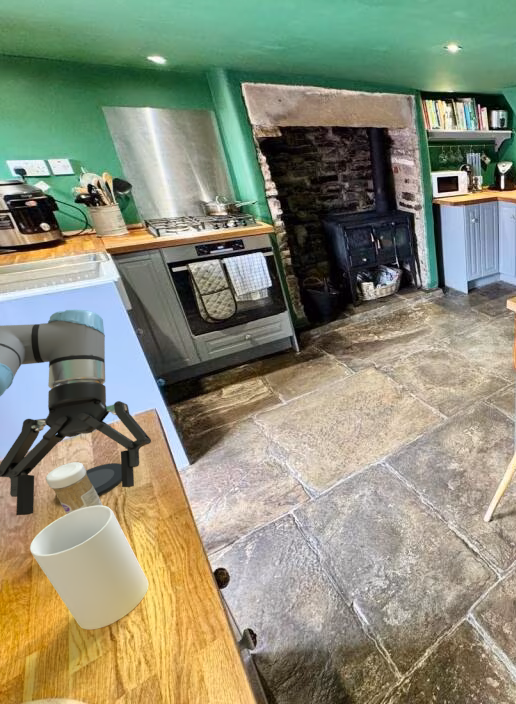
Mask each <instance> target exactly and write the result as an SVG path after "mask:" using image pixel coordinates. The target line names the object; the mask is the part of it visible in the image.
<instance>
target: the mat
mask: <svg viewBox="0 0 516 704" xmlns="http://www.w3.org/2000/svg"><path fill="white" fill-rule="evenodd" d="M86 473H87V476H88V478H89V480H90V482H91V484H92V485H93V487H94V489H95V491H96V493H97V494H98V496H99V497H100V496H102V495H105V494H107V493H108V492H110V491H111V490H113V489H114V488H116V487H117V486H118V485H120V484H122V473H121V463H118V462H117V463H116V462H113V463H104V464H101V465H97V466H93V467H91V468H88V469H86Z"/></svg>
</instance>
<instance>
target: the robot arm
mask: <svg viewBox="0 0 516 704" xmlns="http://www.w3.org/2000/svg"><path fill="white" fill-rule="evenodd" d="M105 338H106V335H105V328H104V320H103V317H102V316H101V315H100V314H98V313H96V312H94V311H91V310H85V309H66V310H65V311H64V310H59V311H56V312H54V313H53V314H51V315H50V316H49V320H48V321H47V322H46V323H45V322H44V323H36V324H34V323H33V324H10V325H9V324H8V325H7V324H5V325H0V397H2V396H3V395H4V394H5V392H6V391H7V390H8V389H9V388H10V387H11V386H12V384H13V381H14V378H15V377H16V374H17V373H18V370H19V369H20V367H21V365H32V364H43V363H48V384H47V385H48V388H49V389H50V390H48V395H47V396H48V399H47V400H48V401H47V403H48V405H47V408H48V415H47V416H46V418H39V419H33V418H26V419H24V420H23V422H22V425H21V426H22V427H21V432H20V433H19V435H18V436H17V438H16V439H15V441H13V444H12V445H11V447H10V449H9V450H8V452H7V453H6V454H5V456H4V457H3V459H2V461H1V462H0V478H9V479H10V488H9V494H10V496H11V497H12V498H16V510H15V511H16V513H15V514H16V516H28V515H31V514H34V507H35V506H34V503H35V502H34V501H35V475H33V474H30V473H31V472H32V471H33V470H34V469H35V468H36V466H38V465H39V463H40V462H41V461H42V460H43V459H44V458H45V457H46V456H47V455H48V454H49V453H50V452H51V451H52V450H53V449H54V448H55V447H56V446H57V444H59V443H60V442H62V441H63V440H64V439H66V438H74V437H77V436H80V435H83V434H86V435H87V434H91V433H93V432H95V430H97V431H98V432H100V433H101V434H103V435H105V436H106V437H108V438H109V439H111V440H112V441H114V442H115V443H117V444H119V445H120V446H122V447H123V448H125V449H126V450H123V451H120V464H121V473H122V482H121V488H132V487H135V479H134V478H135V477H134V468H136V467H139V465H140V449H141V448H142V447H144V446H146V445H149V444H151V442H152V439H151V438H150V436H149V435H148V434H147V433H146V432H145V430H144V429H143V428H142V426H141V425H140V424H139V423H138V422H137V420H136V419H135V418H134V417H133V416H132V414H131V413H130V410H129V406H128V404H127V403H126V402H123V401H121V400H118V401H115V402H114V403H113V404H110V405H107V404H106V403H107V389H106V385H105V383H106V361H105V360H106V356H105V355H106V352H105V351H106V349H105V348H106V347H105V346H106V345H105V344H106V343H105V342H106V341H105ZM110 413H111V414H112V415H114V416H117V418H118V420H119V421H120V422H121V423H122V424H123V425H124V427H125V428H126V429H127V430H128V431H129V433H130V434H131V435H132V436H133V437H134V439H135V440H132V439H130V438H129V437H128V436H126V435H125V434H123V433H121V432H119V431H118V430H116V429H115V428H113V427H112V426H111V425H109V424H108V423H107V422H105V421H104V420H105V419H106V417H107V416H108V415H109V414H110ZM46 426H47V427H49V429H48V430H47V431H45V433H44V434H43V435H42V438H41V440H39V441H38V443H36V445H35V446H34V447H32V446H33V444H34V443H35V441H36V440H37V439H38V436H39V434H40V432H42V431H43V430H44V428H45V427H46ZM31 447H32V449H31Z"/></svg>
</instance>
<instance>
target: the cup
mask: <svg viewBox="0 0 516 704" xmlns="http://www.w3.org/2000/svg"><path fill="white" fill-rule="evenodd" d="M29 550H30V553H31V555H32V557H33V558H34V560H35V561H36V563H37V564H38V565H39V568H40V569H41V570H42V572H43V573H44V575H45V576H46V578H47V579H48V582H49V583H50V584H51V585H52V587H53V588H54V590H55V591H56V593H57V594H58V596H59V598H60V599H61V601H62V602H63V603H64V605H65V606H66V608H67V610H68V611H69V612H70V615H72V618H74V620H75V622H76V623H77V624H78V626H79V628H81V629H84V630H88V631H89V630H98V629H101V628H104V627H105V628H106V627H107V626H110V625H112V624H114V623H116V622H118V621H119V620H121V619H122V618H124V617H125V616H127V615H128V614H130V613H131V612H132V611H133V610H134V609H135V608H136V607H137V606H138V605H139V604H140V603H141V602H142V601H143V599H144V598H145V596H146V595H147V593H148V590H149V585H150V584H149V580H148V578H147V576H146V574H145V572H144V570H143V568H142V566H141V564H140V562H139V561H138V558H137V556H136V554H135V553H134V550H133V548H132V547H131V544H130V542H129V541H128V539H127V537H126V534H125V533H124V531H123V529H122V526H121V524H120V522H119V521H118V519H117V516H116V514H115V513H114V510H112V509H111V508H110V507H109V506H108V505H107V506H106V505H103V506H102V505H96V506H89V507H85V508H82V509H79V510H76V511H73V512H71V513H68V514H66V513H65V515H62V516H61V517H59V518H57V519H56V520H54V521H52V522H51V523H49V524H47V526H45V527H44V528H43V529H41V530H40V531H39V532H38V533H37V534H36V536H35V537H34V538H33V540H32V541H31V543H30V545H29Z"/></svg>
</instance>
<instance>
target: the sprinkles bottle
mask: <svg viewBox="0 0 516 704" xmlns="http://www.w3.org/2000/svg"><path fill="white" fill-rule="evenodd" d="M86 470H87V469H86V467H85V465H84V464H83V463H82V462H78V461H73V462H68V463H64V464H61V465H59V466H58V467H56V468H54V469H52V470H51V471H50V472H48V473H47V475H46V476H45V481H46V483H47V485H48V487H49V488H51V489H52V490H53V492H54V493H55V495H56V496H57V499H58V500H59V502H60V505H61V507H62V509H63V511H64V512H65V515H66V514H68V513H71V512H73V511H76V510H79V509H82V508H85V507H89V506H96V505H102V506H104V505H103V503H102V500H101V499H100V496H98V494H97V493H96V491H95V489H94V487H93V485H92V484H91V482H90V480H89V478H88V476H87V473H86Z"/></svg>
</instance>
